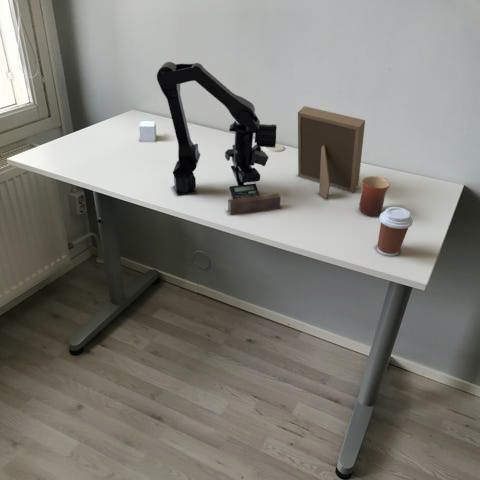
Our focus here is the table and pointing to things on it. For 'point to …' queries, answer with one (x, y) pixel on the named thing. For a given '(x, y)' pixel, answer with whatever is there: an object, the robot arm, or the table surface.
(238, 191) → the calculator
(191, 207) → the table surface
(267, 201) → the rail
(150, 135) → the white cube
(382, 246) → the coffee cup
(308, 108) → the photo frame
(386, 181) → the mug
